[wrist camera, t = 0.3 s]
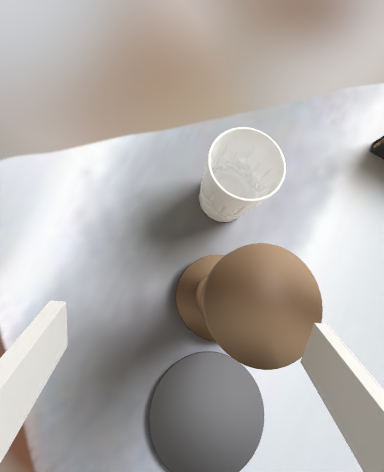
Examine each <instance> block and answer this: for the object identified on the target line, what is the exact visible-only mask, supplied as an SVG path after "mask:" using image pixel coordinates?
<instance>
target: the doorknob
mask: <svg viewBox="0 0 384 472" xmlns="http://www.w3.org/2000/svg"><path fill="white" fill-rule="evenodd" d="M176 304H177V308H178V311H179V314H180V316H181V318H182V320H183V321H184V322H185V324H186V325H187V326H188V328H189V329H190V330H192V331H193V332H194V333H195V334H197V335H198V336H200V337H202V338H205V339H208V340H213V341H216V342H217V343H218V345H219V346H220V347H221V348H222V349H223V350H224V351H225V352H226V353H227V354H229V355H230V356H231V357H232V358H233V359H235V360H237V361H238V362H240V363H242V364H244V365H246V366H249V367H252V368H256V369H263V370H272V369H278V368H282V367H285V366H288V365H290V364H292V363H294V362H295V361H297V360H298V359H300V358H301V357H302V356H303V354H304V351H305V348H306V345H307V342H308V339H309V336H310V334H311V331H312V328H313V325H314V323H321V320H322V299H321V294H320V291H319V287H318V285H317V282H316V280H315V278H314V276H313V275H312V273H311V271H310V270H309V269H308V267H307V266H306V265H305V264H304V263H303V262H302V261H301V259H299V258H298V257H297V256H296V255H294V254H293V253H291V252H290V251H288V250H286V249H284V248H282V247H279V246H276V245H271V244H263V243H258V244H250V245H246V246H243V247H240V248H238V249H236V250H234V251H232V252H230V253H228V254H227V255H225V256H224V255H210V256H206V257H203V258H201V259H199V260H197V261H195V262H194V263H192V264H191V265H190V266H189V267H188V268H187V269H186V270H185V271H184V273H183V274H182V276H181V278H180V280H179V282H178V285H177V290H176Z"/></svg>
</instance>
